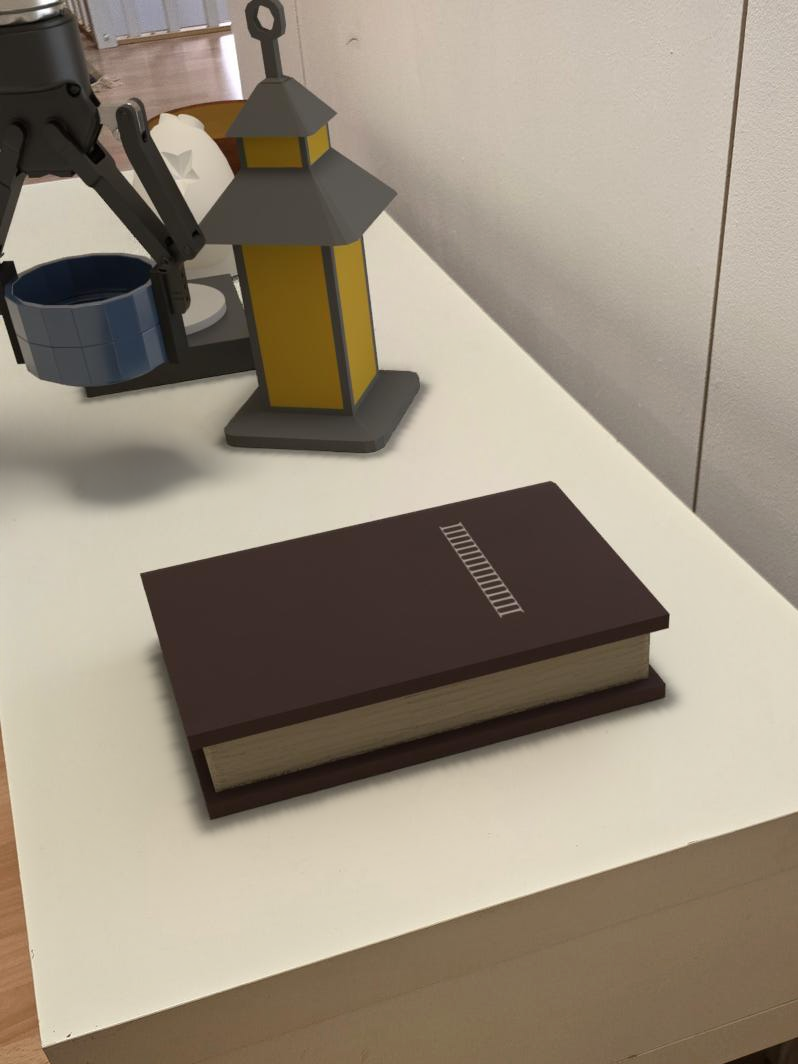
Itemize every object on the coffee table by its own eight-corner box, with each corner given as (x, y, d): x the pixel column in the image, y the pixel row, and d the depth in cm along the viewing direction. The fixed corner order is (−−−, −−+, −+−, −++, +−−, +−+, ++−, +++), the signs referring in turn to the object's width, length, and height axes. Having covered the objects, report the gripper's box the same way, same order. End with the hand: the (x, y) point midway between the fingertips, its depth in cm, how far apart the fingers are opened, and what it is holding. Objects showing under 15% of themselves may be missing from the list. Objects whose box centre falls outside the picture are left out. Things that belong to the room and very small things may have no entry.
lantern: (380, 453, 100) (326, 15, 79) (220, 445, 103) (128, 21, 82) (423, 381, 110) (386, -25, 89) (276, 376, 112) (206, -19, 92)
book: (546, 547, 87) (544, 470, 83) (665, 696, 74) (669, 613, 70) (158, 639, 82) (136, 561, 78) (210, 819, 68) (186, 736, 64)
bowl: (159, 200, 154) (139, 110, 148) (297, 182, 157) (283, 92, 150) (167, 243, 142) (146, 147, 135) (316, 222, 144) (303, 127, 137)
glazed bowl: (6, 392, 89) (-21, 308, 85) (60, 332, 97) (38, 253, 93) (153, 393, 88) (133, 307, 84) (196, 332, 96) (179, 251, 92)
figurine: (255, 286, 130) (226, 127, 119) (148, 298, 129) (110, 139, 119) (253, 252, 138) (226, 100, 127) (152, 263, 137) (117, 112, 127)
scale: (87, 397, 111) (75, 355, 109) (80, 328, 124) (69, 289, 121) (260, 368, 114) (252, 327, 111) (235, 303, 127) (228, 264, 124)
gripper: (209, -7, 78) (266, 336, 94) (-134, 5, 81) (-24, 337, 96) (176, 17, 73) (242, 377, 88) (-191, 30, 76) (-65, 377, 91)
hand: (103, 356), depth 92 cm, fingers closed on glazed bowl, 11 cm apart
